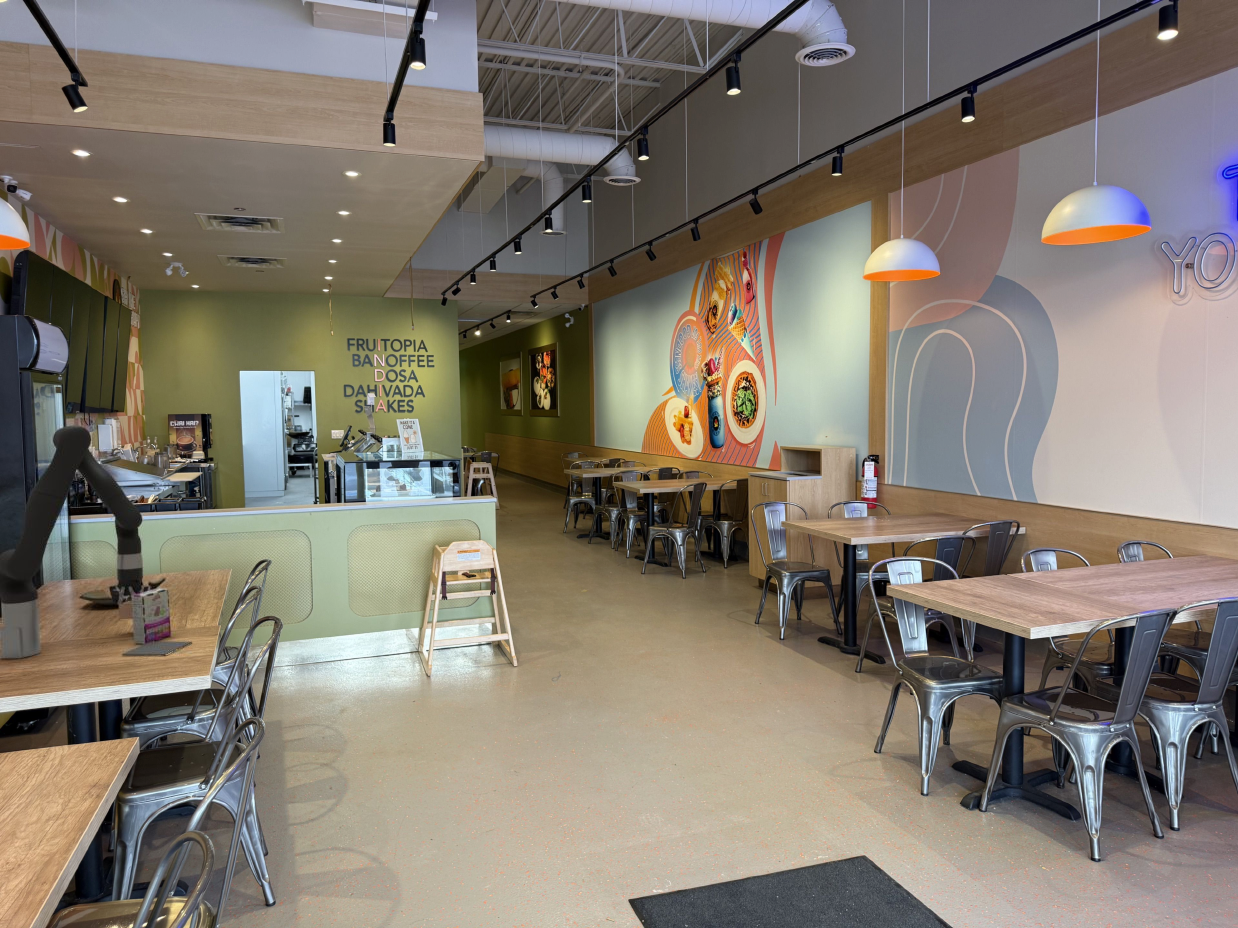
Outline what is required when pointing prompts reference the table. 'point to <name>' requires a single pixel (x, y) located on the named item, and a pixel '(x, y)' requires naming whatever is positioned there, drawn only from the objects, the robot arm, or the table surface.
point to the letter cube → (125, 610)
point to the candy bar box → (151, 615)
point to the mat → (156, 648)
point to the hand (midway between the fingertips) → (131, 614)
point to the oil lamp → (104, 599)
